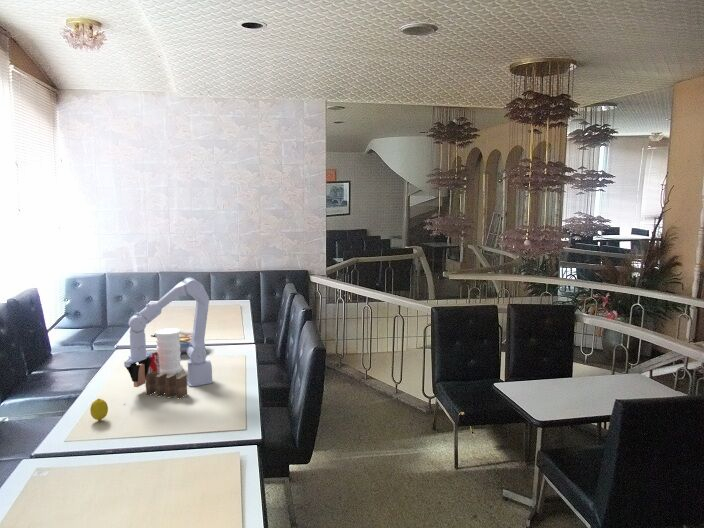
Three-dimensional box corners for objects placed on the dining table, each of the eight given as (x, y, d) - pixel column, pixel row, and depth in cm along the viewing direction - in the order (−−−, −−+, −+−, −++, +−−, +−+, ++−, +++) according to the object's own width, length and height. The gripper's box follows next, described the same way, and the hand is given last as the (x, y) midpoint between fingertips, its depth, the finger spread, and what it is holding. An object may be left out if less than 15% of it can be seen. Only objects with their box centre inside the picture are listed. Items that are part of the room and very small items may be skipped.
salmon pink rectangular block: (133, 386, 215) (132, 367, 214) (142, 382, 220) (141, 363, 219) (137, 387, 214) (136, 367, 213) (145, 383, 219) (144, 363, 218)
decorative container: (161, 376, 236) (160, 335, 234) (151, 369, 245) (149, 330, 243) (187, 370, 244) (185, 331, 242) (176, 364, 252) (174, 326, 250)
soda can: (154, 381, 229) (153, 354, 227) (139, 380, 230) (137, 353, 229) (163, 376, 236) (162, 349, 234) (148, 375, 237) (147, 348, 236)
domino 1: (146, 395, 214) (145, 375, 213) (154, 390, 218) (153, 371, 218) (149, 395, 213) (149, 375, 212) (157, 391, 218) (156, 371, 217)
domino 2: (156, 396, 212) (155, 376, 212) (164, 391, 217) (163, 372, 216) (159, 396, 212) (158, 376, 211) (167, 392, 217) (166, 372, 216)
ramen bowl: (215, 349, 278) (214, 333, 277) (179, 360, 259) (178, 344, 258) (182, 342, 291) (181, 327, 290) (145, 352, 272) (144, 336, 271)
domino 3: (166, 397, 211) (165, 377, 210) (173, 392, 216) (173, 373, 215) (169, 397, 211) (168, 377, 210) (177, 393, 216) (176, 373, 215)
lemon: (91, 425, 185) (90, 402, 184) (90, 419, 190) (89, 397, 189) (109, 422, 188) (107, 399, 187) (108, 416, 193) (106, 394, 192)
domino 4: (176, 398, 210) (175, 378, 209) (183, 394, 215) (183, 374, 214) (179, 398, 210) (179, 378, 209) (187, 394, 214) (186, 374, 213)
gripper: (141, 340, 223) (142, 372, 225) (116, 349, 209) (118, 384, 211) (156, 341, 221) (157, 374, 223) (132, 351, 207) (134, 385, 209)
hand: (139, 379), depth 217 cm, fingers closed on salmon pink rectangular block, 5 cm apart
